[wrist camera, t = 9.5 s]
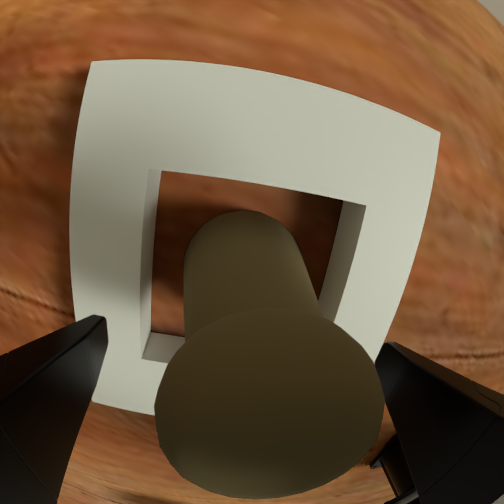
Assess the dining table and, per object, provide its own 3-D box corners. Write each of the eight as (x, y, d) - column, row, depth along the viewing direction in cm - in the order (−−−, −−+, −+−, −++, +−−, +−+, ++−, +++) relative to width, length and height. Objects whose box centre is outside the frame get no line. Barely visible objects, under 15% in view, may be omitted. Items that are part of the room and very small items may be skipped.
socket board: (332, 396, 18) (342, 421, 16) (103, 376, 16) (92, 401, 14) (412, 133, 13) (440, 132, 11) (111, 75, 11) (91, 61, 8)
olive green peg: (280, 192, 14) (437, 294, 3) (313, 297, 15) (414, 468, 5) (163, 237, 14) (53, 414, 3) (211, 334, 16) (210, 527, 5)
